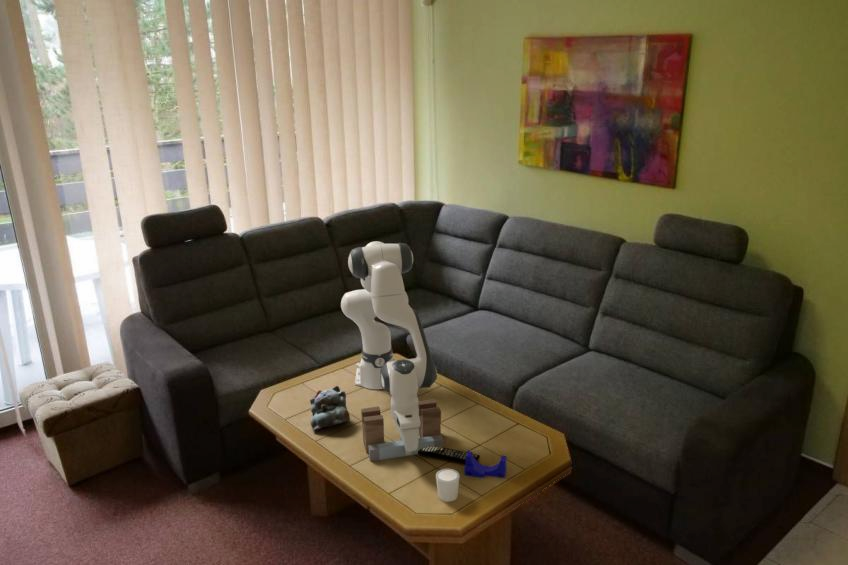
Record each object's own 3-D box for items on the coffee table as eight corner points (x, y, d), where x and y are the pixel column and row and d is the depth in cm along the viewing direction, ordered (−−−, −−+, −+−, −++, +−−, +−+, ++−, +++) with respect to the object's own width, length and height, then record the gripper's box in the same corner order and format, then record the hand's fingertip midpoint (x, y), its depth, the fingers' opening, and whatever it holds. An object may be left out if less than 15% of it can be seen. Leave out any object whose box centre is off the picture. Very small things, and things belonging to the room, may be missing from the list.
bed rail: (368, 456, 209) (368, 445, 208) (440, 445, 214) (440, 434, 213) (370, 461, 206) (369, 450, 205) (443, 450, 212) (443, 439, 210)
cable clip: (464, 475, 198) (464, 458, 196) (467, 467, 202) (467, 450, 201) (503, 481, 195) (504, 464, 193) (506, 473, 199) (506, 455, 197)
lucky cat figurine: (303, 432, 224) (298, 391, 226) (321, 428, 235) (316, 390, 238) (342, 425, 219) (336, 384, 221) (358, 422, 230) (352, 383, 233)
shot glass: (431, 493, 190) (431, 473, 188) (451, 485, 193) (450, 465, 191) (444, 506, 184) (444, 485, 182) (464, 497, 188) (464, 477, 186)
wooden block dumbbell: (362, 440, 218) (361, 408, 214) (435, 430, 223) (434, 398, 220) (366, 453, 210) (364, 421, 207) (441, 442, 216) (440, 410, 212)
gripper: (388, 396, 215) (390, 433, 219) (401, 427, 196) (402, 467, 200) (407, 394, 216) (408, 430, 220) (421, 424, 197) (422, 464, 201)
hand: (406, 448), depth 210 cm, fingers open, 5 cm apart
